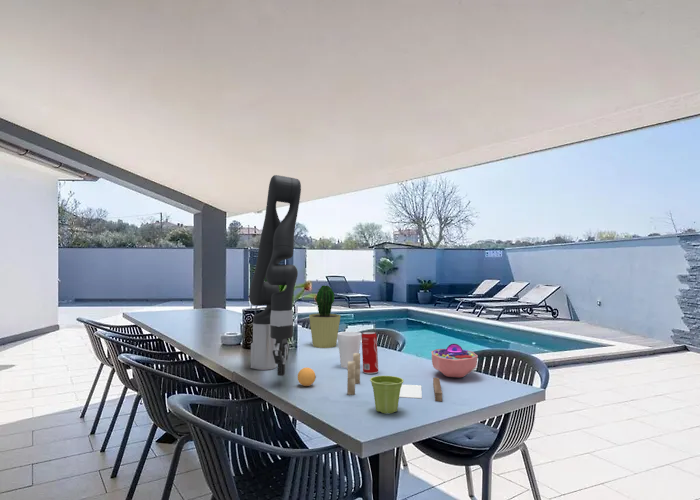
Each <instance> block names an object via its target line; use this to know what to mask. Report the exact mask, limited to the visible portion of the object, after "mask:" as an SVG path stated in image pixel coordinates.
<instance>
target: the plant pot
mask: <svg viewBox="0 0 700 500" xmlns="http://www.w3.org/2000/svg"><path fill="white" fill-rule="evenodd" d="M369 381H370V383H371V387H372V391H373V397H374V398H373V399H374V405H375V407H374V408H375V410H376V412H381V413H382V414H393V413H395V412H398V408H399V401H400V397H399V395H400V389H401V386H402V384H403V383H404V379H403V378H402V377H398V376H393V375H377V376H372V377H370V379H369Z"/></svg>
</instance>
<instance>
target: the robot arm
mask: <svg viewBox="0 0 700 500" xmlns="http://www.w3.org/2000/svg"><path fill="white" fill-rule="evenodd" d="M301 192H302V185H301V181H300V180H299V179H298V178H294V177H289V176H283V175H277V174H274V175H273V176H272V177H271V178H270V180H269V185H268V191H267V199H266V206H265V207H266V208H265V216H264V221H263V226H262V229H261V230H262V231H261V235H260V239H259V245H258V252H257V258H256V263H255V268H254V272H253V276H252V278H251V283H250V286H249V293H248V298H249V302H250V303H249V304H250V305H252V306H254V307H256V306H257V307H258V306H265V309H264V310H262V311H261V312H259V313H256V314H255V315H253V317H252V320H253V321H252V342H251V343H250V369H253V370H266V371H267V370H274V369H276V368H277V376H279V377H283V376H285V375H286V364H287V361H288V357H289V352H290V351H289V350H290V346H291V345H290V344H289V342H288V340H289V339H292V337H293V335H294V332H293V331H294V316H293V315H294V314H293V296H294V295H293V294H294V290H295V286H296V282H297V280H298V268H297V267H296V266H295V265H293V264H290V263H289V264H280V263H281V262H282V261H285V260H289V259H292V257H293V255H294V243H295V230H296V224H297V218H298V213H299V205H300V202H301V201H300V199H301V194H302V193H301ZM277 202H278V203H285V204H289V208H288V211H287V213H286V215H285V216H284V218H283V219H282V220H280V218H279V215H278V211H277ZM265 280H266V281H265ZM279 286H285V287H286V288H285V289H284V290H281V291H280V287H279Z"/></svg>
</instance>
